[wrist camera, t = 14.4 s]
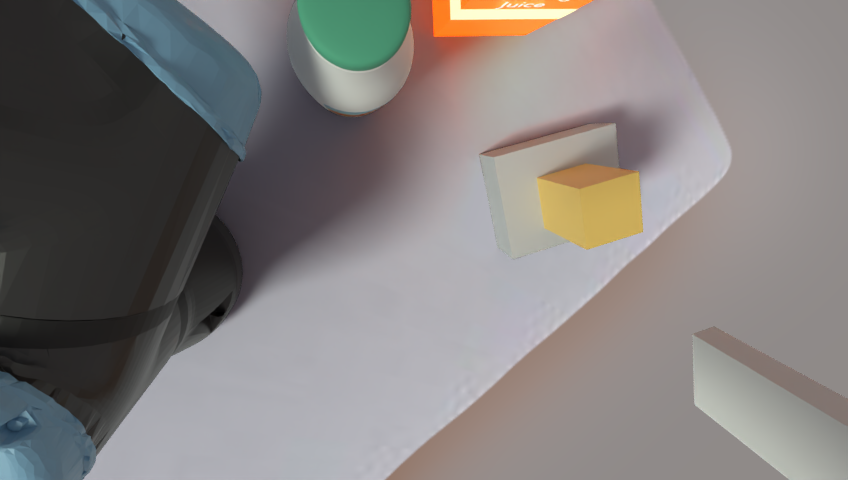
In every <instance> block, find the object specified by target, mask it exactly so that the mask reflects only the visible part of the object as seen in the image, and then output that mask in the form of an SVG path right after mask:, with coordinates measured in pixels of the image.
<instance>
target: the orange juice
mask: <svg viewBox="0 0 848 480" xmlns="http://www.w3.org/2000/svg"><path fill="white" fill-rule="evenodd" d="M591 1H593V0H432V2H433V27H434V37H443V36H507V35H527V34H529V33H531V32H532V31H534V30H536V29H538V28H540V27H542V26H544V25H546V24H548V23H550V22H552V21H554V20H556V19H559V18H561V17H563V16H565V15H567V14H569V13H571V12H573V11H575V10H577V9H578V8H580V7H582V6H583V5H585V4H587V3H589V2H591Z"/></svg>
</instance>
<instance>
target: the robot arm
mask: <svg viewBox="0 0 848 480" xmlns="http://www.w3.org/2000/svg"><path fill="white" fill-rule="evenodd" d="M260 103H261V88H260V84H259V81H258V77H257V75H256V73H255V72H254V70H253V69H252V67H251V65H250V64H249V62H248V61H247V60H246V59H245V58H244V57H243V56H242V55H241V54H240V53H239V51H238V50H236V49H235V48H234V47H233V46H232V45H231V44H230V43H229V42H228V41H227V40H225V39H224V38H223V37H222V36H221V35H219V34H218V33H217V32H216V31H215V30H214V29H212V28H211V27H210V26H209V25H207V24H206V23H205V22H204V21H203V20H201V19H200V18H199V17H198V16H196V15H195V14H194V13H192V12H191V11H190V10H189V9H187V8H186V7H185V6H183V5H182V4H181V3H180V2H178V1H177V0H0V480H83V479H84V477H85V476H86V475H87V474H88V473H89V472H90V470H91V469H92V467H93V465H94V463H95V461H96V456H97V455H98V453H99V452H100V451H101V449H102V448H103V447H104V445H105V444H106V443H107V441H108V440H109V439H110V437H111V436H112V435H113V433H114V432H115V431H116V429H117V428H118V427H119V425H120V424H121V423H122V421H123V420H124V419H125V417H126V416H127V415H128V413H129V412H130V411H131V409H132V408H133V407H134V405H135V404H136V403H137V401H138V400H139V399H140V397H141V396H142V395H143V393H144V392H145V391H146V389H147V388H148V387H149V385H150V384H151V383H152V381H153V380H154V379H155V377H156V376H157V375H158V373H159V372H160V371H161V369H162V368H163V367H164V365H165V364H166V363H167V361H168V360H169V359H170V357H171V356H173V355H175V354H177V353H179V352H181V351H183V350H185V349H186V348H188V347H190V346H192V345H194V344H196V343H198V342H200V341H201V340H203V339H204V338H206V337H207V336H208V335H210V334H211V333H212V332H213V331H214V330H215V329H216V328H217V327H218V326H219V325H220V324H221V323H222V322H223V320H224V319H225V318H226V316H227V315H228V313H229V312H230V310H231V308H232V307H233V305H234V303H235V302H236V300H237V297H238V295H239V292H240V288H241V283H242V262H241V257H240V253H239V250H238V247H237V245H236V243H235V240H234V238H233V237H232V235H231V233H230V232H229V230H228V229H227V228H226V226H225V225H224V224H223V223H222V221H221V220H220V219H219V218H218V217H217V216H216V215H215V213H216V211H217V209H218V206H219V204H220V202H221V199H222V197H223V195H224V192H225V190H226V188H227V185H228V183H229V181H230V178H231V176H232V174H233V171H234V169H235V167H236V164H237V162H238V161H240V162H242V161H244V159H245V156H246V150H245V148H244V147H245V144H246V141H247V139H248V136H249V133H250V131H251V128H252V125H253V123H254V120H255V117H256V115H257V112H258V109H259V107H260ZM692 340H693V341H692V342H693V374H694V404H695V405H696V406H697V407H698V408H700V409H701V410H702V411H703V412H705V413H706V414H707V415H708V416H710V417H711V418H712V419H713V420H715V421H716V422H717V423H718V424H720V425H721V426H722V427H724V428H725V429H726V430H727V431H729V432H730V433H731V434H732V435H734V436H735V437H736V438H738V439H739V440H740V441H741V442H742V443H744V444H745V445H746V446H747V447H749V448H750V449H751V450H753V451H754V452H755V453H756V454H758V455H759V456H760V457H761V458H763V459H764V460H765V461H766V462H768V463H769V464H770V465H771V466H773V467H774V468H775V469H777V470H778V471H779V472H780V473H782V474H783V475H784V476H785V477H787V478H788V479H789V480H848V399H847V398H845V397H843V396H842V395H840V394H838V393H836V392H834V391H832V390H830V389H829V388H827V387H825V386H823V385H821V384H819V383H817V382H816V381H814V380H812V379H810V378H808V377H806V376H805V375H803V374H801V373H799V372H797V371H795V370H793V369H792V368H790V367H788V366H786V365H784V364H782V363H780V362H778V361H777V360H775V359H773V358H771V357H769V356H768V355H766V354H764V353H762V352H760V351H758V350H756V349H755V348H753V347H751V346H749V345H747V344H745V343H743V342H742V341H740V340H738V339H736V338H734V337H732V336H731V335H729V334H727V333H725V332H723V331H721V330H719V329H718V328H716V327H711V328H708V329H706V330H703V331H700V332H697V333H694V334H692Z"/></svg>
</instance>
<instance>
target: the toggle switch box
mask: <svg viewBox="0 0 848 480" xmlns="http://www.w3.org/2000/svg"><path fill="white" fill-rule="evenodd" d="M479 156H480V161H481V166H482V171H483V176H484V181H485V186H486V191H487V196H488V201H489V206H490V211H491V216H492V221H493V226H494V232H495V237H496V242H497V247H498V248H499V249H500V250H502V251H503V252H504V253H505V254H507V255H508V256H509V257H510V258H512V259H516V258H519V257H522V256H525V255H529V254H532V253H535V252H538V251H541V250H544V249H548V248H551V247H554V246H557V245H560V244H564V243H567V242H570V241H569V240H567V239H565V238H563V237H561V236H559V235H557V234H555V233H553V232H551V231H549V230H547V229H545V228H544V222H543V216H542V209H541V203H540V197H539V190H538V184H537V177H541V176H544V175H548V174H551V173H555V172H558V171H562V170H565V169H568V168H572V167H575V166H579V165H582V164H586V163H587V164H593V165H600V166H606V167H613V168H619V158H618V147H617V135H616V123H598V124H587V125H583V126H580V127H576V128H572V129H569V130H565V131H562V132H558V133H554V134H551V135H547V136H544V137H540V138H537V139H533V140H529V141H526V142H522V143H519V144H515V145H511V146H508V147H504V148H501V149H497V150H494V151H490V152H486V153H483V154H479Z"/></svg>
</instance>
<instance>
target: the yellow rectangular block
mask: <svg viewBox="0 0 848 480" xmlns="http://www.w3.org/2000/svg"><path fill="white" fill-rule="evenodd" d="M537 184H538V190H539V197H540V203H541V209H542V216H543V222H544V228H545V229H547V230H549V231H551V232H553V233H555V234H557V235H559V236H561V237H563V238H565V239H567V240H569V241H571V242H572V243H574V244H576V245H578V246H580V247H582V248H584V249H586V250H588V249H591V248H594V247H597V246H600V245H603V244H607V243H610V242H613V241H616V240H619V239H622V238H625V237H629V236H632V235H635V234H638V233H641V232H643V223H642V209H641V194H640V180H639V171H633V170H626V169H620V168H613V167H606V166H600V165H593V164H587V163H586V164H582V165H579V166H575V167H572V168H568V169H565V170H562V171H558V172H555V173H551V174H548V175H544V176H541V177H537Z"/></svg>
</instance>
